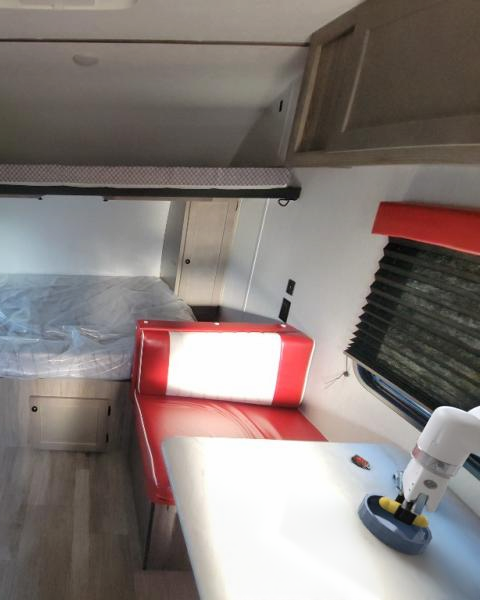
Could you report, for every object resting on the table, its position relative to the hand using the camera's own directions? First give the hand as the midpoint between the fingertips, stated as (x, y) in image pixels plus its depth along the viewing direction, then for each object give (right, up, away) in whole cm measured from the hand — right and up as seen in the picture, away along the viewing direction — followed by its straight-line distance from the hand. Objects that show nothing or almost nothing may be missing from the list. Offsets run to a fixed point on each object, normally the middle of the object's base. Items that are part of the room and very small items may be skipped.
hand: (401, 514), depth 82 cm
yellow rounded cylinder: (0, +1, 0) cm, 1 cm away
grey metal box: (+17, -1, +16) cm, 23 cm away
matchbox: (+8, +2, +22) cm, 23 cm away
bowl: (-1, -5, +2) cm, 5 cm away
